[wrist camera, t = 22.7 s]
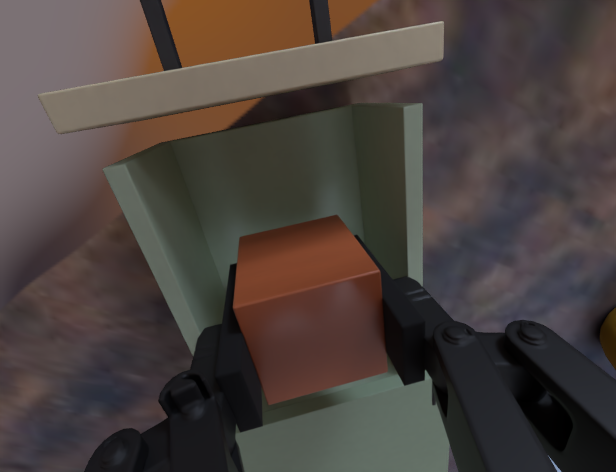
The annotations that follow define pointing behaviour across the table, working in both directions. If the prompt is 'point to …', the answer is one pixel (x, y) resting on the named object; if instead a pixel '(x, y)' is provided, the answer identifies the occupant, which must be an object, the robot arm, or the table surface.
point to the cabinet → (352, 432)
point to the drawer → (263, 160)
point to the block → (309, 308)
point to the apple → (609, 337)
